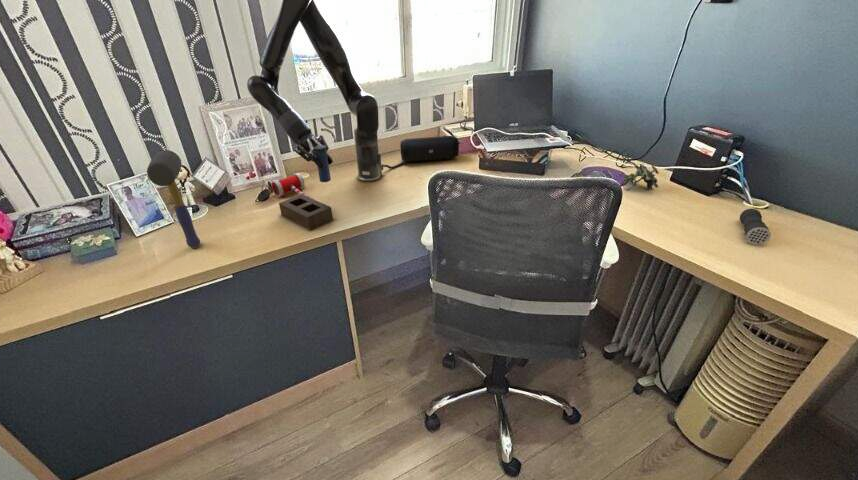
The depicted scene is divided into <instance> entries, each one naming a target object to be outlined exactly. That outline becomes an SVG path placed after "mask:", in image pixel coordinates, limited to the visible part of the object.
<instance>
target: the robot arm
mask: <svg viewBox="0 0 858 480" xmlns="http://www.w3.org/2000/svg"><path fill="white" fill-rule="evenodd" d="M299 23H300V24H301V26H302V28H303V30H304V31H305V34H306V36H307V37H308V40H309V41H310V44H311V45H312V47H313V49H314V51H315V53H316V54H317V56H318V58H319V59H320V62H321V63H322V65H323V67H324V68H325V69H326V71H327V73H328V74H329V75H330V78H331V79H332V80H333V81H334V83H335V84H336V86H337V88H338V90H339V92H340V93H341V95H342V97H343V99H344V102H345V105H346V106H347V108H348V110H349V111H350V113H351V114H352V115H353V116H354V117H356V127H355V128H354V130H353V134H354V135H353V137H354V144H355V155H356V166H357V177H358V180H360V181H363V182H374V181H377V180H379V179H380V178H381V177H382V176H383V172H382V171H384V168H388V169H392V170H393V169H397V168H398V167H400V166H402V165H404V164H407V163H409V162H407V161H402V162H401V161H400V163H398V164H396V165H393V166H391V165H389V164H383V163H382V157H381V155H382V154H381V152H379V139H378V130H379V127H380V126H379V125H380V124H379V121H380V120H379V105H378V101H377V99H376V98H375V96H373V95H372V94H369V93H366V92H365V91H364V90H363V89H362V87H361V86H360V85H359V83H358V81H357V79H356V78H355V75H354V72H353V70H352V65H351V64H352V63H351V60H350V57H349V54H348V52H347V50H346V48H345V46H344V45H343V43H342V41H341V39H340V37H339V36H338V34H337V33H336V31H334V29H333V28H332V27H331V25H330V24H329V23H328V22H327V20H326V19H325V17H324V16H323V15H322V14H321V12H320V10H319V9H318V7H317V5H316V3H315V1H314V0H281V5H280V9H279V12H278V15H277V17H276V20H275V22H274V24H273V26H272V28H271V29H270V31H269V34H268V35H267V37H266V40H265V42H264V45H263V48H262V51H261V53H260V56H259V60H258V63H259V66H260V67H261V72H260V75H257V74H255V75H251V76H250V77H249V78H248V79H247V81H246V87H247V91H248V93H249V95H250V96H251V98H253V100H255V101H256V102H257V103H258V104H259V105H261V107H263V108H264V109H265V110H266V111H267V112H268V113H269V114H270V116H271V117H272V118H273V119H274V120H275V121H276V122H277V123H278V125H279V126H280V128H281V129H282V130H283V131H284V133H285V134H286V135H287V136H288V137H289V138H290V140H291V141H292V142H293V144H295V145H297V146H296V148H295V149H294V153H296V154H297V155H299V156H300V157H301V158H302V159H304V160H305V161H307V163H310V162H313V163H314V164H315V165H316V167H317V166H318V167H319V168H320V169H323V168H324V167H325V164H324V163H323V162H322V161H321V160H320V158H319V157H317V155H316V153H315V149H314V147H315V146H318V145H324V146H326V150H327V157H328V164H329V166H330V165H331V164H333V162H334V160H333V158H332V156H330V154H329V153H328V151H329V150H330V147H329V145H328V144H327V142H326V140H325V138H324V136H323V135H322V134H320V135H319V136H316V135H315V134H313V133H312V129H311V127H310V126H309V125H308V123H307V122H305V120H304V119H303V118H302V116H300V114H299V113H298V112H296V110H295V109H293V107H292V106H291V104H290V103H289V102H288V101H287V100H286V99H284V98H283V96H281V95H279V94H277V90H278V87H279V81H280V73H281V69H282V67H283V64H284V61H285V59H286V55H287V52H288V49H289V47H290V44H291V41H292V38H293V36H294V34H295V31H296V30H297V27H298V25H299ZM318 167H317V168H318Z"/></svg>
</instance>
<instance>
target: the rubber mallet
mask: <svg viewBox="0 0 858 480" xmlns="http://www.w3.org/2000/svg"><path fill="white" fill-rule="evenodd" d="M182 165H183V164H182V159H181V158H180V156H179V155H178V154H177V153H176V152H174V151H173V150H169V149H164V150H160V151H159V152H157V153H156V154H155V155H154V156H153V157H152V158H151V160H150V162H149V164H148V166H147V168H146V169H147V170H146V175H147V178H148V179H149V180H150V182H152V184H154V185H156V186H158V187H159V186H160V187H167V189H168V193H169V195H170V197H171V199H172V202H173V206H174V213H175V216H176V219H177V222H178V223H179V225H180V226H181V229H182V231H183V234H184V237H185V241H186V244H187V246H188V247H190V248H191V249H197V248H199V247H200V246H201V239H200V238H199V236H198V235H197V232H196V230H195V227H194V224H193V218H192V216H191V214H190V211H189V210H188V208H187V206H186V205H185V203H184V200H183V198H182V195H181V193H180V190H179V188H178V185H177V183H176V179H177V177H178V176H179V174H180V171H181V169H182Z"/></svg>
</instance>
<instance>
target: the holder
mask: <svg viewBox="0 0 858 480" xmlns="http://www.w3.org/2000/svg"><path fill="white" fill-rule="evenodd" d="M308 196H309V195H307V196H305V195H303V194H301V195H300V194H298V195H296V196H293V197H290V198H288V199H285V200H283V201H280V202H278V206H279V209H280V214H281V215H280V216H281V217H284V218H285V219H287V220H289V221H291V222H293V223H294V224H297V225H299V226H301V227H302V228H304V229H306V230H308V231H312V230H315V229H317V228H319V227H321V226H323V225H326V224H328V223H330V222H332V221H334V216H333V210H332V206H330V205H328V204H325V203H323V202H321V201H319V200H317V199H314V198H312V197H310V196H309V197H308Z"/></svg>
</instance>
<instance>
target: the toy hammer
mask: <svg viewBox="0 0 858 480" xmlns="http://www.w3.org/2000/svg"><path fill="white" fill-rule="evenodd" d="M270 185H271V190H272V192H273V194H274V195H275V196H276V197H278V198H280V197H282V196H284V194H286V193H290V192H295V193H296V194H298V195H301V194H303V195H305V196H308V197H310V196H309V195H307V194H306V193H304V192H303V191H301V190H302V189H304V188H305V186H306V184H305V179H304V177H303V176H302V174H301V173H299V172H296V173H293V174H292V175H291V176H287V177H285V178H282V179H274V180H272V181H271V184H270Z"/></svg>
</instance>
